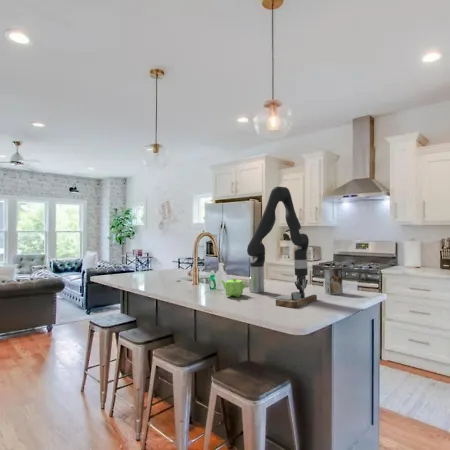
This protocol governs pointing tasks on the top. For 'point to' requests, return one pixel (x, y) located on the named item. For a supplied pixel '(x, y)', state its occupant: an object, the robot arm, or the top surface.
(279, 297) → the grey concrete tile
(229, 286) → the kettle
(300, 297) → the clip
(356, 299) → the top surface
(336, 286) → the coffee box
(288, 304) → the wooden tray
